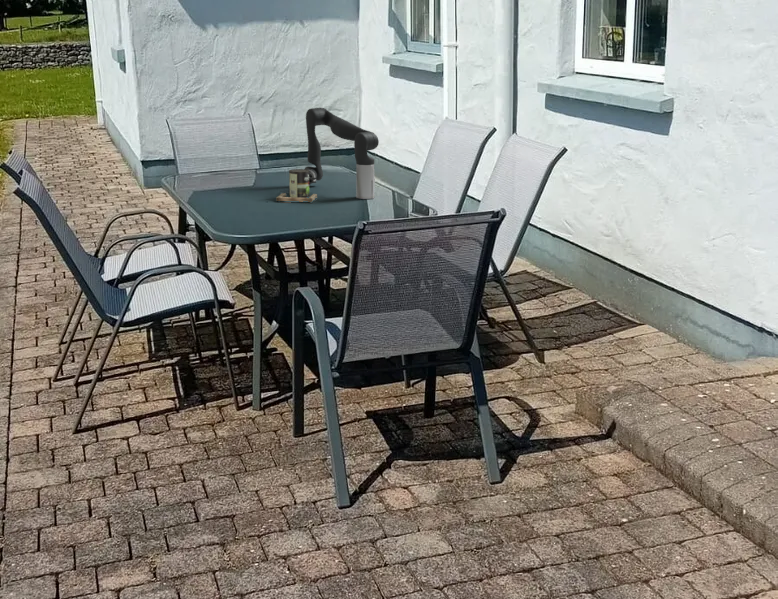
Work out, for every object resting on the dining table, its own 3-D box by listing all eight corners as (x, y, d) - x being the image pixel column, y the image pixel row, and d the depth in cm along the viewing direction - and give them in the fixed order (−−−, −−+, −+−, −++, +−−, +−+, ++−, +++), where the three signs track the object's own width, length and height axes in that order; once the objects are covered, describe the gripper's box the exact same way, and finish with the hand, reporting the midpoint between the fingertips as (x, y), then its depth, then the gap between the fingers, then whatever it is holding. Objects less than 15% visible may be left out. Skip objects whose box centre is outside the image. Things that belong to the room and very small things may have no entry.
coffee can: (311, 196, 505) (311, 169, 501) (306, 200, 495) (306, 172, 491) (292, 195, 506) (292, 168, 503) (286, 199, 497) (286, 171, 493)
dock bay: (316, 198, 500) (316, 194, 499) (312, 203, 486) (312, 198, 486) (282, 197, 502) (282, 193, 501) (276, 202, 488) (276, 197, 488)
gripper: (295, 170, 520) (288, 174, 503) (319, 170, 518) (313, 175, 502) (295, 184, 522) (288, 189, 505) (319, 185, 520) (313, 190, 504)
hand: (301, 182), depth 503 cm, fingers closed
